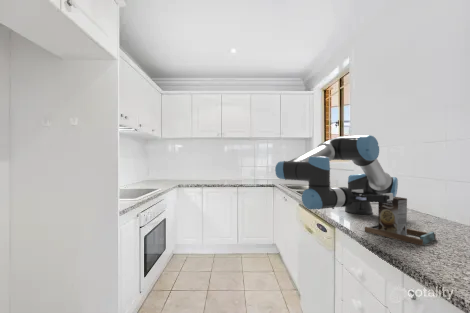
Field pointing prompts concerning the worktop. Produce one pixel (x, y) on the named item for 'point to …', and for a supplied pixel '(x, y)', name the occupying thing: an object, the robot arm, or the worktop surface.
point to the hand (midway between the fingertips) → (376, 194)
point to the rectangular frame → (423, 239)
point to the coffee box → (393, 216)
